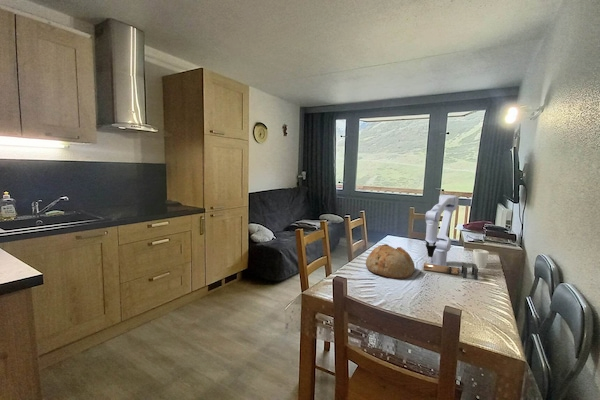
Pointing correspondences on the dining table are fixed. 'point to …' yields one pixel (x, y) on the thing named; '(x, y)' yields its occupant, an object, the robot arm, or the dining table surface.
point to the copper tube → (441, 269)
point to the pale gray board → (452, 275)
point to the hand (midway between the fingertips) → (430, 254)
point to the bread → (390, 262)
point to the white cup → (480, 258)
